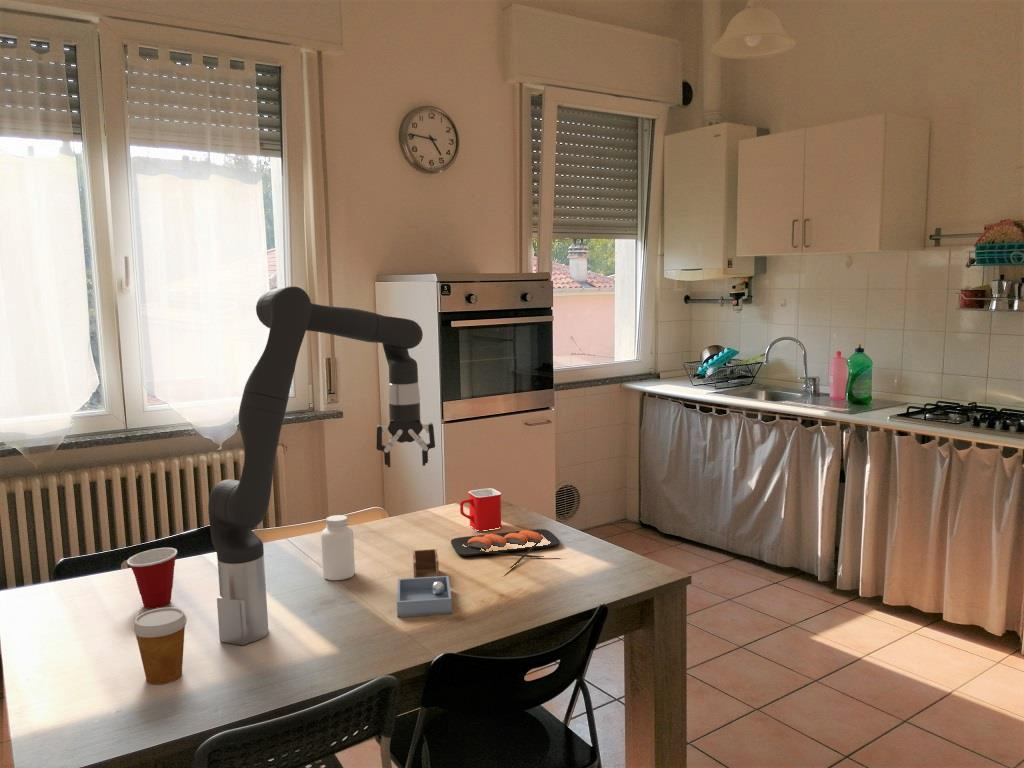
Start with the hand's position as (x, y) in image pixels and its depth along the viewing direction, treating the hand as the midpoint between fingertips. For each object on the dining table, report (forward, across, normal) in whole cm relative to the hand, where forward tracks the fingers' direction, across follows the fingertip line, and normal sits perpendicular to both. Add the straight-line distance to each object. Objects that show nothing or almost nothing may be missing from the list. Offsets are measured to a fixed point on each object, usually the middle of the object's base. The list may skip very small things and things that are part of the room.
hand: (406, 465), depth 202 cm
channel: (+28, +4, -2) cm, 28 cm away
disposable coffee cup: (+28, -47, -45) cm, 71 cm away
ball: (+26, +6, -15) cm, 31 cm away
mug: (+28, +20, +34) cm, 49 cm away
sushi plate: (+29, +27, +10) cm, 41 cm away
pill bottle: (+28, -18, +3) cm, 34 cm away
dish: (+28, +3, -18) cm, 34 cm away
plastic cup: (+28, -59, -8) cm, 66 cm away
